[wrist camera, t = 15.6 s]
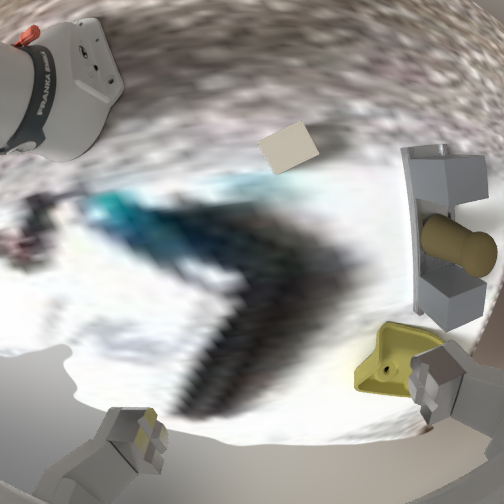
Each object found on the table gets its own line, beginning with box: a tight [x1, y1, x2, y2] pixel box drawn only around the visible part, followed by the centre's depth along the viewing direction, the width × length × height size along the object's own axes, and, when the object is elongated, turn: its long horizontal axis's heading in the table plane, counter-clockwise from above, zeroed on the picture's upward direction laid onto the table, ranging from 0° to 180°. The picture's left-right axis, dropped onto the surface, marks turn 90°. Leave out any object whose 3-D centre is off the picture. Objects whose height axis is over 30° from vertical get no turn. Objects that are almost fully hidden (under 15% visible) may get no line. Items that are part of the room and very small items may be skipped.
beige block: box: [258, 120, 319, 175], centre depth 31 cm, size 4×5×5 cm
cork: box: [421, 214, 498, 278], centre depth 29 cm, size 6×6×11 cm
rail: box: [400, 144, 455, 316], centre depth 35 cm, size 24×7×2 cm, turn 13°
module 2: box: [418, 265, 487, 332], centre depth 33 cm, size 5×7×8 cm
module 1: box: [408, 155, 489, 206], centre depth 29 cm, size 5×7×8 cm
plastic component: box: [354, 322, 446, 398], centre depth 40 cm, size 20×7×10 cm
